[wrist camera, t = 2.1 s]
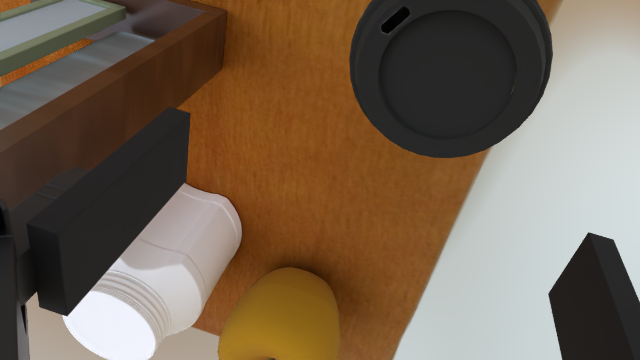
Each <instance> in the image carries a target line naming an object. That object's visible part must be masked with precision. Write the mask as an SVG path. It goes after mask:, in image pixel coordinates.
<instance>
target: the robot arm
mask: <svg viewBox="0 0 640 360" xmlns="http://www.w3.org/2000/svg"><path fill="white" fill-rule="evenodd" d="M189 128H190V113H188V112H185V111H182V110H178V109H175V108H172V107H168V108H167V109H165V110H164V111H163V112H162V113H161V114H159V115H158V116H157V117H156V118H154V119H153V120H152V121H151V122H150V123H148V124H147V125H146V126H145V127H143V128H142V129H141V130H140V131H138V132H137V133H136V134H135V135H134V136H132V137H131V138H130V139H129V140H127V141H126V142H125V143H124V144H123V145H121V146H120V147H119V148H118V149H116V150H115V151H114V152H113V153H112V154H110V155H109V156H108V157H107V158H105V159H104V160H103V161H102V162H101V163H99V164H98V165H97V166H96V167H94V168H93V169H92V170H89V169H86V168H83V167H80V166H77V167H74V168H71V169H69V170H66V171H63V172H61V173H59V174H57V175H56V176H55V177H53V178H52V179H51V180H50V181H48V182H47V183H46V185H43V186H42V187H40V188H39V189H38V190H36V191H35V194H33V193H32V194H31V195H30V196H28V197H27V198H26V199H25V200H23V201H22V202H21V203H19V204H18V205H17V206H15V207H14V208H13V209H11V210H10V211H9V209H8V206H7V204H6V201H4V200H3V199H1V198H0V360H30V355H29V337H28V320H27V308H26V302H27V301H28V300H29V299H30V298H31V297H32V296H33V295H34V294H35V293H36V292H37V294H38V301H39V307H41V308H44V309H47V310H49V311H53V312H55V313H58V314H61V315H64V316H68V315H69V314H70V313H71V312H72V311H73V310H74V308H75V307H76V306H77V305H78V304H79V303H80V302H81V300H82V299H83V298H84V297H85V296H86V295H87V294H88V292H89V291H90V290H91V289H92V288H93V287H94V286H95V284H96V283H97V282H98V281H99V280H100V279H101V278H102V276H103V275H104V274H105V273H106V272H107V271H108V270H109V268H110V267H111V266H112V265H113V264H114V263H115V262H116V260H117V259H118V258H119V257H120V256H121V255H122V254H123V252H124V251H125V250H126V249H127V248H128V247H129V246H130V244H131V243H132V242H133V241H134V240H135V239H136V238H137V236H138V235H139V234H140V233H141V232H142V231H143V230H144V228H145V227H146V226H147V225H148V224H149V223H150V222H151V220H152V219H153V218H154V217H155V216H156V215H157V214H158V212H159V211H160V210H161V209H162V208H163V207H164V206H165V204H166V203H167V202H168V201H169V200H170V199H171V198H172V197H173V195H174V194H175V193H176V192H177V191H178V190H179V189H180V187H181V186H182V185H183V184H184V183H185V182H186V175H187V159H188V144H189ZM549 299H550V304H551V309H552V313H553V317H554V323H555V327H556V332H557V337H558V342H559V346H560V351H561V356H562V360H640V302H639V300H638V297H637V295H636V292H635V290H634V287H633V285H632V283H631V280H630V278H629V276H628V273H627V271H626V269H625V266H624V264H623V262H622V259H621V257H620V254H619V252H618V249H617V247H616V245H615V242H614V240H613V239H609V238H606V237H602V236H599V235H596V234H592V233H588V234H587V235H586V237H585V238H584V240H583V242H582V243H581V245H580V246H579V248H578V249H577V251H576V252H575V254H574V255H573V257H572V258H571V260H570V262H569V263H568V265H567V266H566V268H565V269H564V271H563V272H562V274H561V275H560V277H559V278H558V280H557V281H556V283H555V284H554V286H553V288H552V289H551V291H550V292H549Z"/></svg>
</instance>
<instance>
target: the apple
mask: <svg viewBox="0 0 640 360" xmlns="http://www.w3.org/2000/svg"><path fill="white" fill-rule="evenodd" d="M339 349H340V324H339V311H338V307H337V303H336V299H335V296H334V294H333V292H332V290H331V288H330V286H329V285H328V284H327V283H326V282H325V281H324V280H323V279H321V278H320V277H318V276H316V275H315V274H313V273H310V272H307V271H304V270H302V269H299V268H292V267H286V268H280V269H276V270H274V271H272V272H270V273H268V274H266V275H264V276H263V277H262V278H260V279H259V280H258V281H257V282H255V283H254V284H253V285H252V286H251V287H250V288H249V289H248V290H247V291H246V293H245V294H244V295H243V296H242V297H241V299H240V300H239V301H238V303H237V304H236V306H235V307H234V309H233V311H232V312H231V314H230V315H229V317H228V319H227V321H226V323H225V325H224V327H223V330H222V333H221V335H220V339H219V345H218V356H219V360H337V357H338V353H339Z"/></svg>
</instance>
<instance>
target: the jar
mask: <svg viewBox="0 0 640 360" xmlns="http://www.w3.org/2000/svg"><path fill="white" fill-rule="evenodd" d="M241 238H242V227H241V222H240V219H239V216H238V214H237V212H236V210H235V208H234V207H233V205H232V204H231V202H230V201H229V200H228V199H227V198H226V197H223V196H221V195H219V194H212V193H208V192H204V191H201V190H198V189H196V188H193V187H191V186H189V185H187V184H186V183H184V184H183V185H182V186H181V187H180V189H179V190H178V191H177V192H176V193H175V194H174V195H173V197H172V198H171V199H170V200H169V201H168V202H167V203H166V204H165V206H164V207H163V208H162V209H161V210H160V211H159V212H158V214H157V215H156V216H155V217H154V218H153V219H152V220H151V222H150V223H149V224H148V225H147V226H146V227H145V228H144V230H143V231H142V232H141V233H140V234H139V235H138V236H137V238H136V239H135V240H134V241H133V242H132V243H131V244H130V246H129V247H128V248H127V249H126V250H125V251H124V252H123V254H122V255H121V256H120V257H119V258H118V259H117V260H116V262H115V263H114V264H113V265H112V266H111V267H110V268H109V270H108V271H107V272H106V273H105V274H104V275H103V276H102V278H101V279H100V280H99V281H98V282H97V283H96V284H95V286H94V287H93V288H92V289H91V290H90V291H89V292H88V294H87V295H86V296H85V297H84V298H83V299H82V300H81V302H80V303H79V304H78V305H77V306H76V307H75V308H74V310H73V311H72V312H71V313H70V314H69V315H68V316H64V315H63V319H64V322H65V324H66V326H67V328H68V329H69V331H70V332H71V334H72V335H73V336H74V337H75V338H76V339H77V340H78V341H79V342H80V343H81V344H82V345H84V346H85V347H86V348H87V349H89V350H90V351H92V352H94V353H95V354H97V355H99V356H101V357H103V358H106V359H108V360H148V359H149V358H151V357H152V355H153V354H154V353H155V351H156V350H157V348H158V347H159V345H160V343H161V342H162V340H163V338H164V337H167V336H170V335H172V334H175V333H178V332H181V331H183V330H185V329H187V328H189V327H190V326H192V325H193V324H194V323H195V322H196V320H197V319H198V317H199V316H200V314H201V312H202V310H203V308H204V306H205V303H206V301H207V300H208V298H209V296H210V294H211V293H212V291H213V289H214V287H215V286H216V284H217V282H218V280H219V279H220V277H221V275H222V274H223V272H224V270H225V268H226V267H227V265H228V263H229V261H230V260H231V259H232V258H233V256H234V255H235V253H236V251H237V249H238V248H239V245H240V243H241Z"/></svg>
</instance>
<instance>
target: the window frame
mask: <svg viewBox="0 0 640 360" xmlns="http://www.w3.org/2000/svg"><path fill="white" fill-rule="evenodd" d="M36 1H39V0H31V3H32V2H36ZM102 1H106V2H110V3H113V4H117V5H121V6H124V7H126V19H125V20H122V21H120V22H118V23H116V24H114V25H112V26H109V27H107V28H105V29H103V30H101V31H99V32H96V33H94V34H92V35H90V36H88V37H86V39H89V40H93V41H95V42H93V43H91V44H89V45H87V46H85V47H83V48H81V49H79V50H77V51H75V52H73V53H71V54H69V55H66V56H64V57H62V58H60V59H58V60H56V61H54V62H52V63H50V64H48V65H46V66H44V67H42V68H40V69H38V70H35V71H33V72H31V73H29V74H27V75H25V76H23V77H21V78H19V79H17V80H15V81H13V82H11V83H9V84H7V85H5V86H2V87H1V88H0V198H1V199H3V200H4V201H6V204H7V206H8V209H9V211H10V210H11V209H13V208H14V207H15V206H17V205H18V204H19V203H21V202H22V201H23V200H25V199H26V198H27V197H28V196H30V195H31V194H32V193H33V194H35V191H36V190H38V189H39V188H40V187H42V186H43V185H46V183H47V182H48V181H50V180H51V179H52V178H53V177H55V176H56V175H57V174H59V173H61V172H63V171H66V170H69V169H71V168H74V167H77V166H80V167H83V168H86V169H89V170H92V169H93V168H94V167H96V166H97V165H98V164H99V163H101V162H102V161H103V160H104V159H105V158H107V157H108V156H109V155H110V154H112V153H113V152H114V151H115V150H116V149H118V148H119V147H120V146H121V145H123V144H124V143H125V142H126V141H127V140H129V139H130V138H131V137H132V136H134V135H135V134H136V133H137V132H138V131H140V130H141V129H142V128H143V127H145V126H146V125H147V124H148V123H150V122H151V121H152V120H153V119H154V118H156V117H157V116H158V115H159V114H161V113H162V112H163V111H164V110H165V109H167V108H168V107H172V108H175V109H176V108H177V107H179V106H180V105H181V104H182V103H183V102H184V101H186V100H187V99H188V98H189V97H190V96H191V95H193V94H194V93H195V92H196V91H197V90H198V89H200V88H201V87H202V86H203V85H204V84H205V83H206V82H208V81H209V80H210V79H211V78H212V77H213V76H215V75H216V74H217V73H218V72H219V71H220V70H222V64H223V53H224V42H225V30H226V19H227V10H223V9H219V8H215V7H212V6H208V5H204V4H201V3H197V2H193V1H189V0H102Z"/></svg>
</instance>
